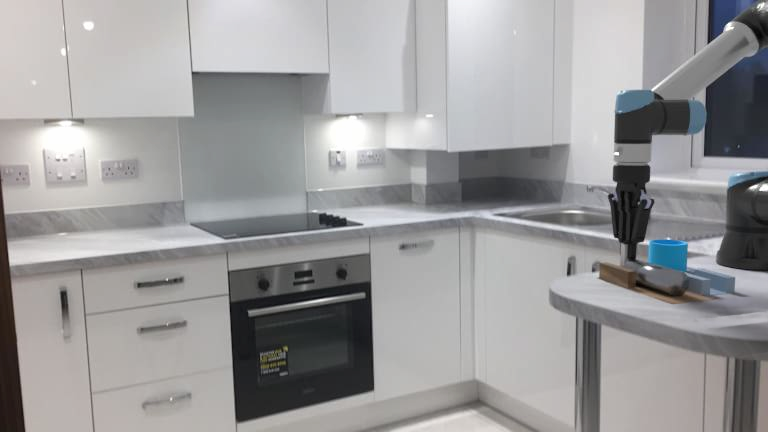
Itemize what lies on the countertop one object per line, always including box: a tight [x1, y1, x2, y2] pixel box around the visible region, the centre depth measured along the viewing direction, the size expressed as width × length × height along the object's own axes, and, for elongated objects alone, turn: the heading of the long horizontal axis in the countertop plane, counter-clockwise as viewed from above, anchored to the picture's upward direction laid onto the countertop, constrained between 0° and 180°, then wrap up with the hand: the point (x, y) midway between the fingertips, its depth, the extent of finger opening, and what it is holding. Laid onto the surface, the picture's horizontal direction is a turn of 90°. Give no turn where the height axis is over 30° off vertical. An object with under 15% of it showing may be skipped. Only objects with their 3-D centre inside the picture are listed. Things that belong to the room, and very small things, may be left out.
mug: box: [648, 238, 689, 273], centre depth 162 cm, size 12×8×8 cm
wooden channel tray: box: [597, 262, 716, 305], centre depth 144 cm, size 10×24×5 cm, turn 17°
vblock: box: [681, 268, 736, 297], centre depth 143 cm, size 8×10×4 cm
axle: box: [624, 258, 689, 297], centre depth 143 cm, size 14×5×5 cm, turn 18°
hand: (627, 272), depth 151 cm, fingers closed
